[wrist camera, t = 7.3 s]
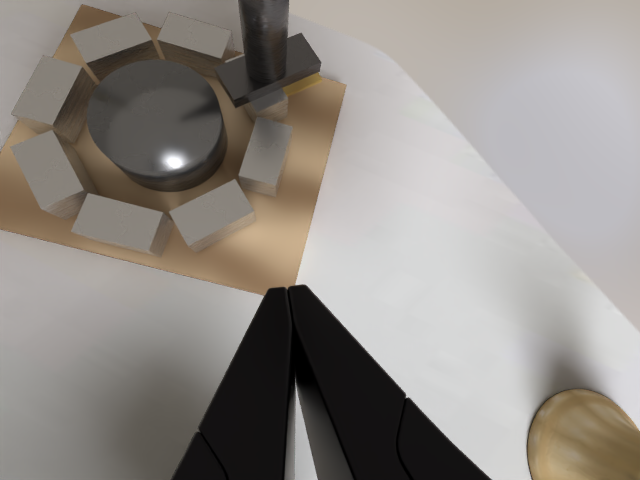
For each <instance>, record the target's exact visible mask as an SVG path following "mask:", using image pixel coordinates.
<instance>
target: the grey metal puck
mask: <svg viewBox="0 0 640 480" xmlns="http://www.w3.org/2000/svg"><path fill="white" fill-rule="evenodd" d="M87 126H88V130H89V133H90V135H91V137H92V140H93V141H94V143H95V144H96V146H97V147H98V148H99V149H100V150H101V152H102V153H103V154H104V155H106V156H107V157H108V158H109V159H110V160H111V161H112V162H113V163H114V164H115V165H116V166H117V167H118V168H119V169H120V170H121V171H122V172H124V173H125V174H126V175H127V176H128V177H129V178H130V179H131V180H132V181H134V182H136V183H137V184H139V185H141V186H143V187H145V188H148V189H151V190H155V191H159V192H179V191H184V190H188V189H191V188H194V187H196V186H198V185H200V184H202V183H204V182H205V181H206V180H208V179H209V178H210V177H211V176H213V175H214V174H215V173H216V171H217V170H218V169H219V168H220V166H221V164H222V163H223V161H224V158H225V156H226V152H227V146H228V137H227V131H226V128H225V124H224V120H223V116H222V112H221V109H220V105H219V102H218V99H217V96H216V94H215V92H214V90H213V88H212V87H211V86H210V84H209V83H208V82H207V81H206V80H205V79H204V78H203V77H202V76H201V75H200V74H199V73H197V72H196V71H194V70H192V69H191V68H189V67H187V66H185V65H182V64H179V63H176V62H172V61H166V60H143V61H138V62H134V63H130V64H127V65H125V66H123V67H120V68H118V69H117V70H115V71H113V72H112V73H110V74H109V75H108V76H106V77H105V78H104V79H103V80H102V81H101V82H100V83H99V85H98V86H97V87H96V89H95V90H94V92H93V94H92V96H91V98H90V100H89V104H88V108H87Z"/></svg>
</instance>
